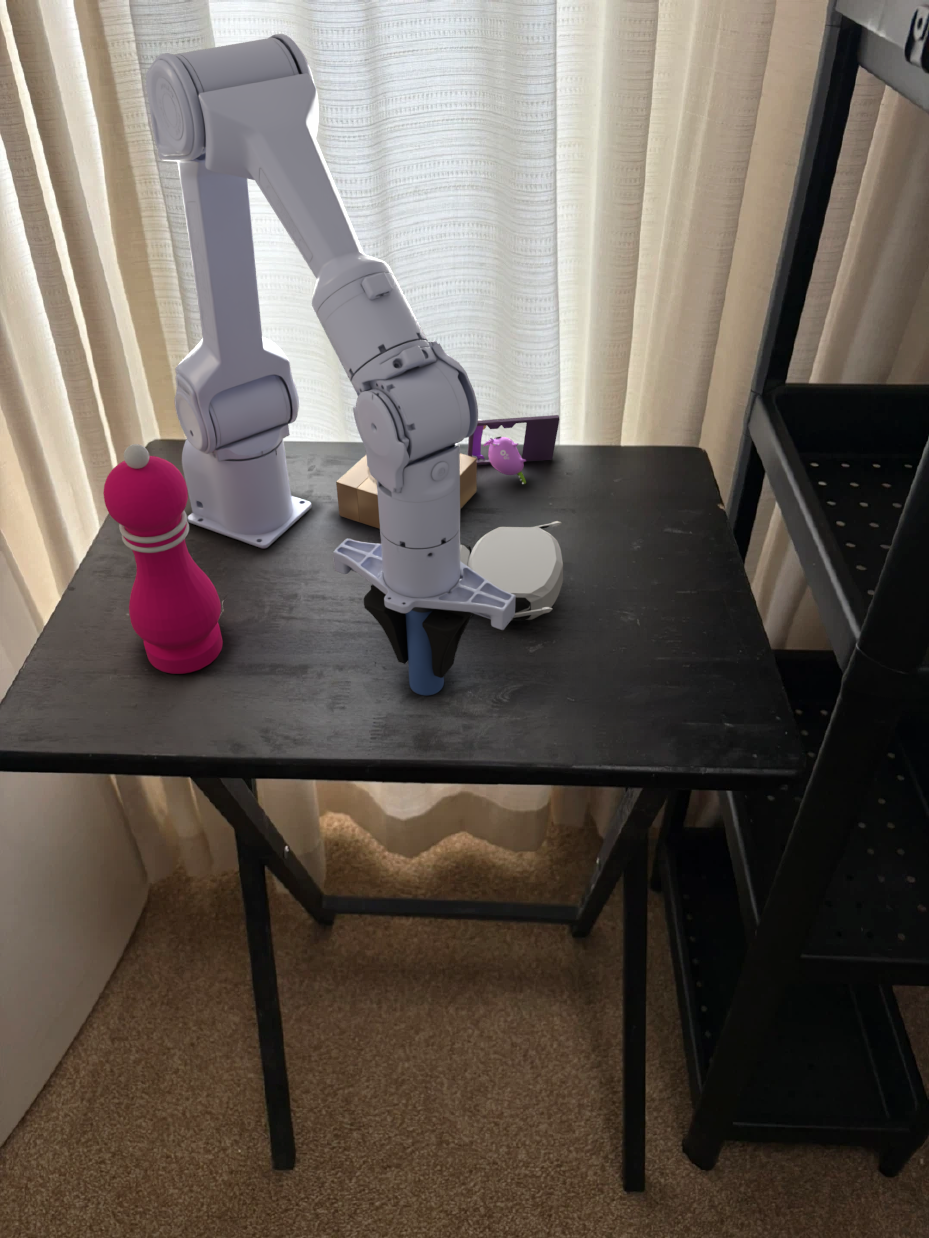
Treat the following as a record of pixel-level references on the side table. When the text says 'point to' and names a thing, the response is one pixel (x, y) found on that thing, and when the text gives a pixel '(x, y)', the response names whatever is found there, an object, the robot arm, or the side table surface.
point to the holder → (362, 494)
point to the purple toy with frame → (504, 449)
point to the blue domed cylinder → (420, 654)
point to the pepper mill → (163, 564)
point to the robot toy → (520, 566)
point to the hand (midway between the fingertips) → (425, 662)
